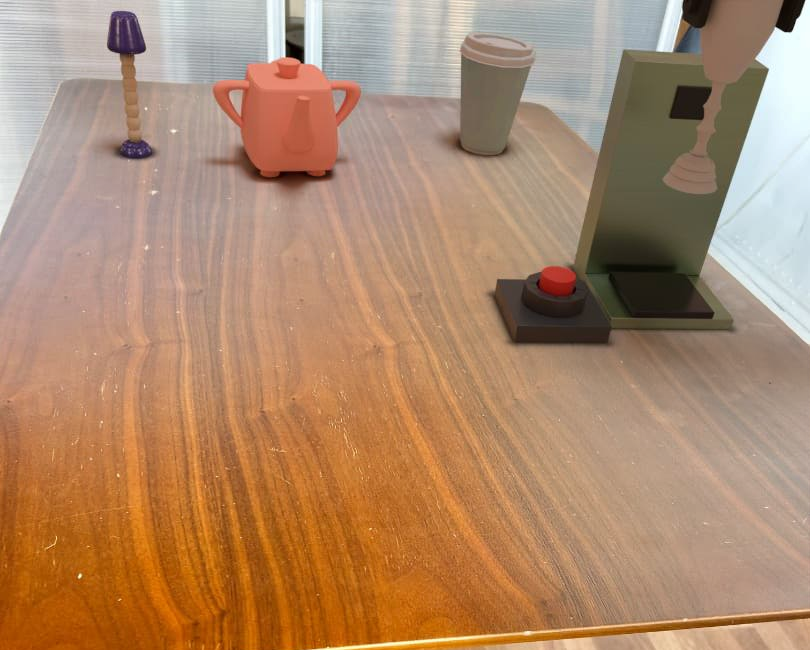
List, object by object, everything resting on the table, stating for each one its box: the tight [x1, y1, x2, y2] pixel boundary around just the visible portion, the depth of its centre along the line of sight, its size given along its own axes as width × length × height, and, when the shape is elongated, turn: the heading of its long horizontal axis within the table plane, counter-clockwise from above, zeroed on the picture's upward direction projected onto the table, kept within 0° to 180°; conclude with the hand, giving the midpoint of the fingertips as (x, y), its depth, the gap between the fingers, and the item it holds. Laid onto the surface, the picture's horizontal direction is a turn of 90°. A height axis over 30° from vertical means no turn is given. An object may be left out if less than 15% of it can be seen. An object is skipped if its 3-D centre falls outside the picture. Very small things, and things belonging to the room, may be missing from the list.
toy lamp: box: [106, 10, 154, 160], centre depth 112 cm, size 5×5×17 cm
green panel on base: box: [572, 48, 770, 330], centre depth 92 cm, size 14×14×24 cm
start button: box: [539, 265, 577, 296], centre depth 91 cm, size 4×4×2 cm
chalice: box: [663, 0, 784, 194], centre depth 76 cm, size 7×7×18 cm
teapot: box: [212, 56, 362, 178], centre depth 115 cm, size 17×16×13 cm
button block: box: [494, 271, 613, 344], centre depth 93 cm, size 10×10×4 cm
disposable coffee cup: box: [459, 31, 536, 156], centre depth 125 cm, size 11×11×15 cm
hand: (737, 24), depth 74 cm, fingers closed on chalice, 7 cm apart
